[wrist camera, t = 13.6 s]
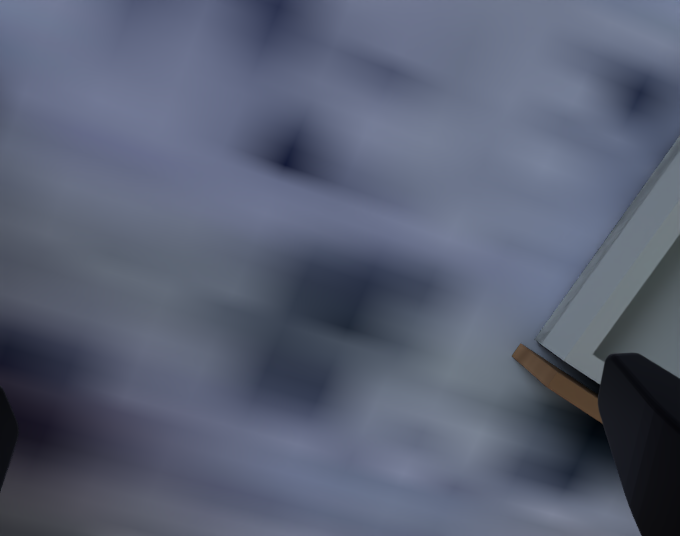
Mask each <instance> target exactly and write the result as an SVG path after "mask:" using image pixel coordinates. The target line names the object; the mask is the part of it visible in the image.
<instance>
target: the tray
mask: <svg viewBox="0 0 680 536" xmlns="http://www.w3.org/2000/svg"><path fill="white" fill-rule="evenodd" d="M535 340H536V341H537V342H539V343H540V344H541V345H543V346H544V347H546V348H547V349H548V350H550V351H551V352H552V353H554V354H555V355H557V356H558V357H559V358H561V359H562V360H563V361H565V362H566V363H568V364H569V365H571V366H572V367H574V368H576V369H577V370H579V371H580V372H582V373H583V374H585V375H586V376H588V377H589V378H591V379H592V380H594V381H595V382H597V383H598V384H600V383H601V378H602V373H603V367H604V363H605V360H606V358H607V356H608V355H610V354H612V353H630V352H634V353H639V354H641V355H643V356H644V357H646V358H648V359H649V360H651V361H652V362H654V363H656V364H657V365H659V366H661V367H662V368H664V369H665V370H667V371H669V372H670V373H672V374H674V375H675V376H677V377H679V378H680V136H679V137H678V139H677V140H676V142H675V143H674V144H673V146H672V147H671V149H670V150H669V151H668V153H667V154H666V156H665V157H664V158H663V160H662V161H661V163H660V164H659V165H658V167H657V168H656V170H655V171H654V172H653V174H652V175H651V177H650V178H649V179H648V181H647V182H646V184H645V185H644V186H643V188H642V189H641V191H640V192H639V193H638V195H637V196H636V198H635V199H634V200H633V202H632V203H631V205H630V206H629V207H628V209H627V210H626V212H625V213H624V214H623V216H622V217H621V219H620V220H619V222H618V223H617V224H616V226H615V227H614V229H613V230H612V231H611V233H610V234H609V236H608V237H607V238H606V240H605V241H604V243H603V244H602V245H601V247H600V248H599V250H598V251H597V252H596V254H595V255H594V257H593V258H592V259H591V261H590V262H589V264H588V265H587V266H586V268H585V269H584V271H583V272H582V273H581V275H580V276H579V278H578V279H577V280H576V282H575V283H574V285H573V286H572V287H571V289H570V290H569V292H568V293H567V294H566V296H565V297H564V299H563V300H562V301H561V303H560V304H559V306H558V307H557V308H556V310H555V311H554V313H553V314H552V315H551V317H550V318H549V320H548V321H547V323H546V324H545V325H544V327H543V328H542V330H541V331H540V332H539V334H538V335H537V337H536V338H535Z"/></svg>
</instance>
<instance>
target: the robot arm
mask: <svg viewBox="0 0 680 536" xmlns="http://www.w3.org/2000/svg"><path fill="white" fill-rule="evenodd" d="M598 408H599V413H600V416H601V420H602V423H603V426H604V429H605V432H606V435H607V439H608V442H609V445H610V448H611V451H612V455H613V458H614V461H615V464H616V467H617V470H618V474H619V477H620V480H621V483H622V486H623V490H624V493H625V496H626V498H627V501H628V504H629V507H630V510H631V512H632V514H633V517H634V519H635V522H636V524H637V526H638V529H639V531H640V533H641V535H642V536H680V378H679V377H677V376H675V375H674V374H672V373H670V372H669V371H667V370H665V369H664V368H662V367H661V366H659V365H657V364H656V363H654V362H652V361H651V360H649V359H648V358H646V357H644V356H643V355H641V354H639V353H634V352H630V353H612V354H610V355H608V356H607V358H606V360H605V363H604V367H603V373H602V378H601V383H600V388H599V394H598ZM18 434H19V428H18V423H17V420H16V418H15V415H14V413H13V411H12V408H11V406H10V404H9V401H8V399H7V397H6V395H5V392H4V390H3V388H2V387H1V386H0V491H1V488H2V485H3V482H4V479H5V476H6V473H7V470H8V467H9V464H10V461H11V458H12V455H13V452H14V449H15V446H16V443H17V439H18Z"/></svg>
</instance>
